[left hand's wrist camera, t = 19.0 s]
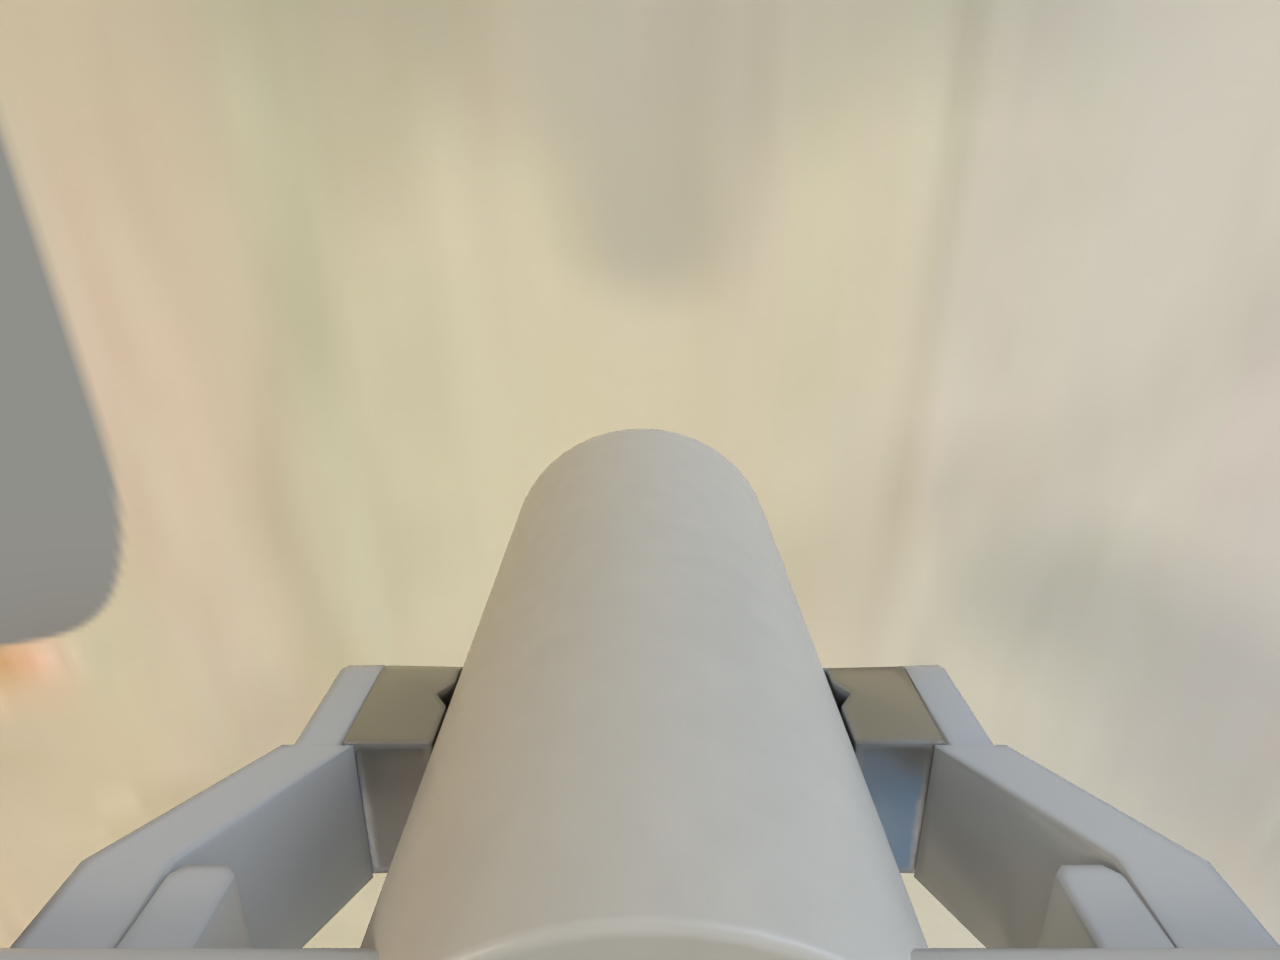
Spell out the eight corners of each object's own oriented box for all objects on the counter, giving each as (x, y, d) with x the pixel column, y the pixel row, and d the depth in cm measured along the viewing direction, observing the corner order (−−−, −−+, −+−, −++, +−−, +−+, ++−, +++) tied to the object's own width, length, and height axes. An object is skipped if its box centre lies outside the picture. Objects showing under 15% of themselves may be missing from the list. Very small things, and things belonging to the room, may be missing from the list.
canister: (638, 697, 16) (637, 1434, 6) (463, 544, 14) (153, 1177, 5) (819, 550, 14) (1129, 1188, 5) (645, 372, 13) (657, 792, 4)
